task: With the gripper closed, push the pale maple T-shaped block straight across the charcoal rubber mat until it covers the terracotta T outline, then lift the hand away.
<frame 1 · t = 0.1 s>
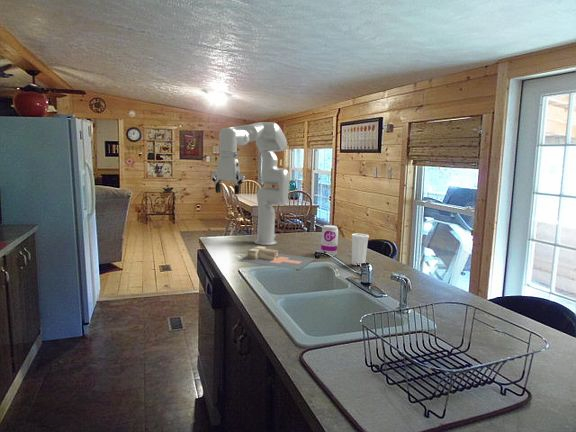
hand: (227, 193, 200), 31 cm above the worktop, fingers open, 9 cm apart
t block: (264, 257, 208), resting on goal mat
cup: (358, 265, 204), on the worktop
supplement can: (328, 255, 222), on the worktop
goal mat: (277, 260, 206), on the worktop
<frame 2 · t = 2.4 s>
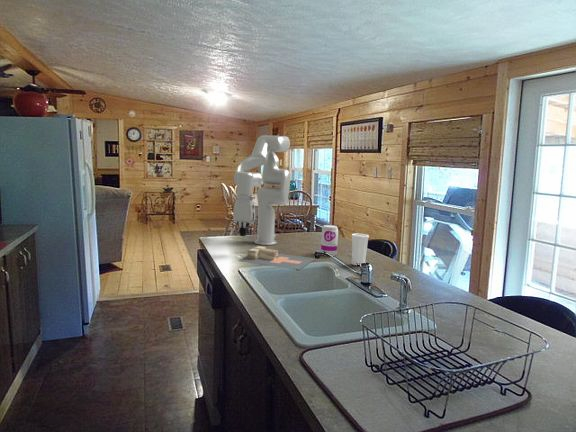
hand: (243, 235, 211), 10 cm above the worktop, fingers closed
nothing on the worktop moved.
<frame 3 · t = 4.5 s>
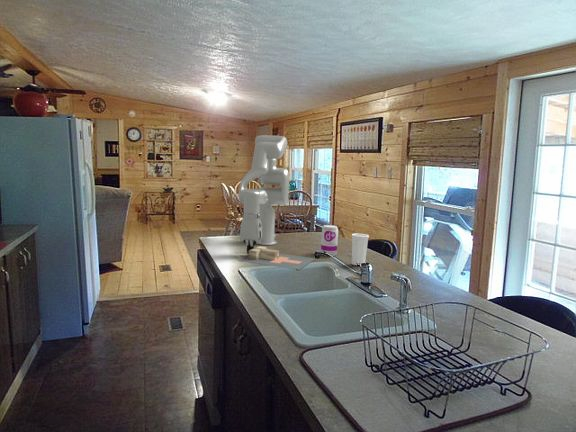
hand: (250, 253, 211), 1 cm above the worktop, fingers closed
t block: (265, 257, 208), resting on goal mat, touching gripper
everything else where it was.
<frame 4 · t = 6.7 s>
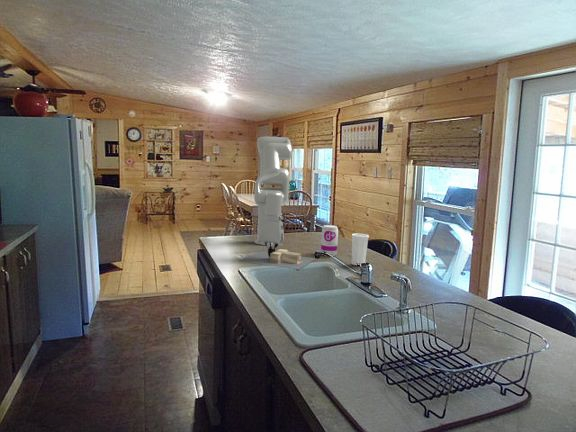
hand: (271, 256, 207), 2 cm above the worktop, fingers closed
t block: (286, 261, 204), resting on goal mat, touching gripper
everything else where it was.
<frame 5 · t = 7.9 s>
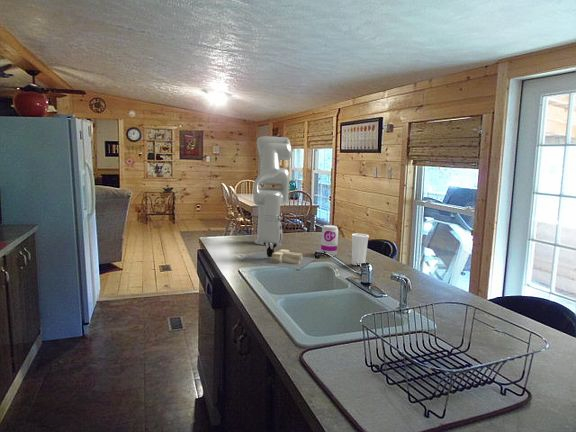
hand: (270, 256, 207), 1 cm above the worktop, fingers closed
t block: (288, 261, 203), resting on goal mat
everything else where it was.
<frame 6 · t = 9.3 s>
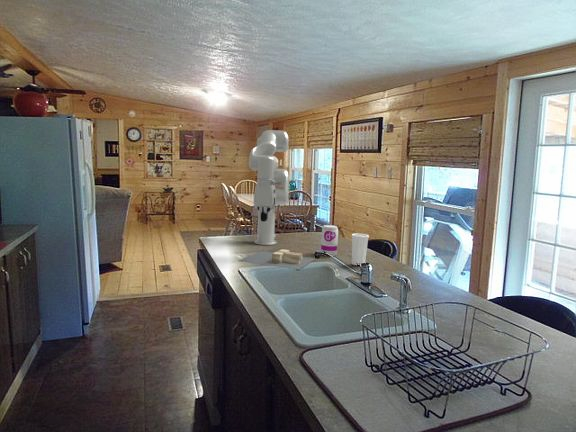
hand: (263, 221, 207), 18 cm above the worktop, fingers closed
nothing on the worktop moved.
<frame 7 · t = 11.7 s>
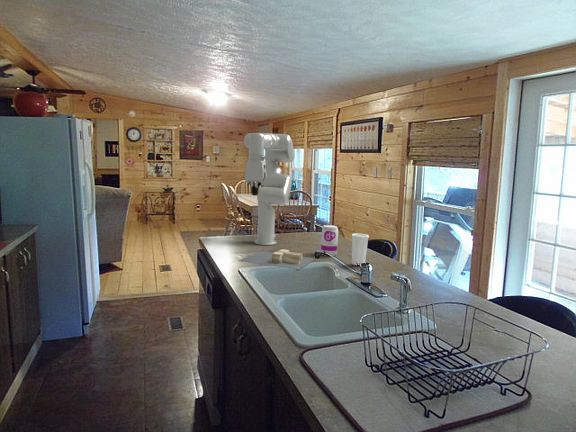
hand: (254, 195, 218), 29 cm above the worktop, fingers closed
nothing on the worktop moved.
at the end: t block 0.8 cm from the target spot on the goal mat, point 0.4 cm above the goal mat's base; t block tilted 0°; t block moved 12.7 cm from its start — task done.
